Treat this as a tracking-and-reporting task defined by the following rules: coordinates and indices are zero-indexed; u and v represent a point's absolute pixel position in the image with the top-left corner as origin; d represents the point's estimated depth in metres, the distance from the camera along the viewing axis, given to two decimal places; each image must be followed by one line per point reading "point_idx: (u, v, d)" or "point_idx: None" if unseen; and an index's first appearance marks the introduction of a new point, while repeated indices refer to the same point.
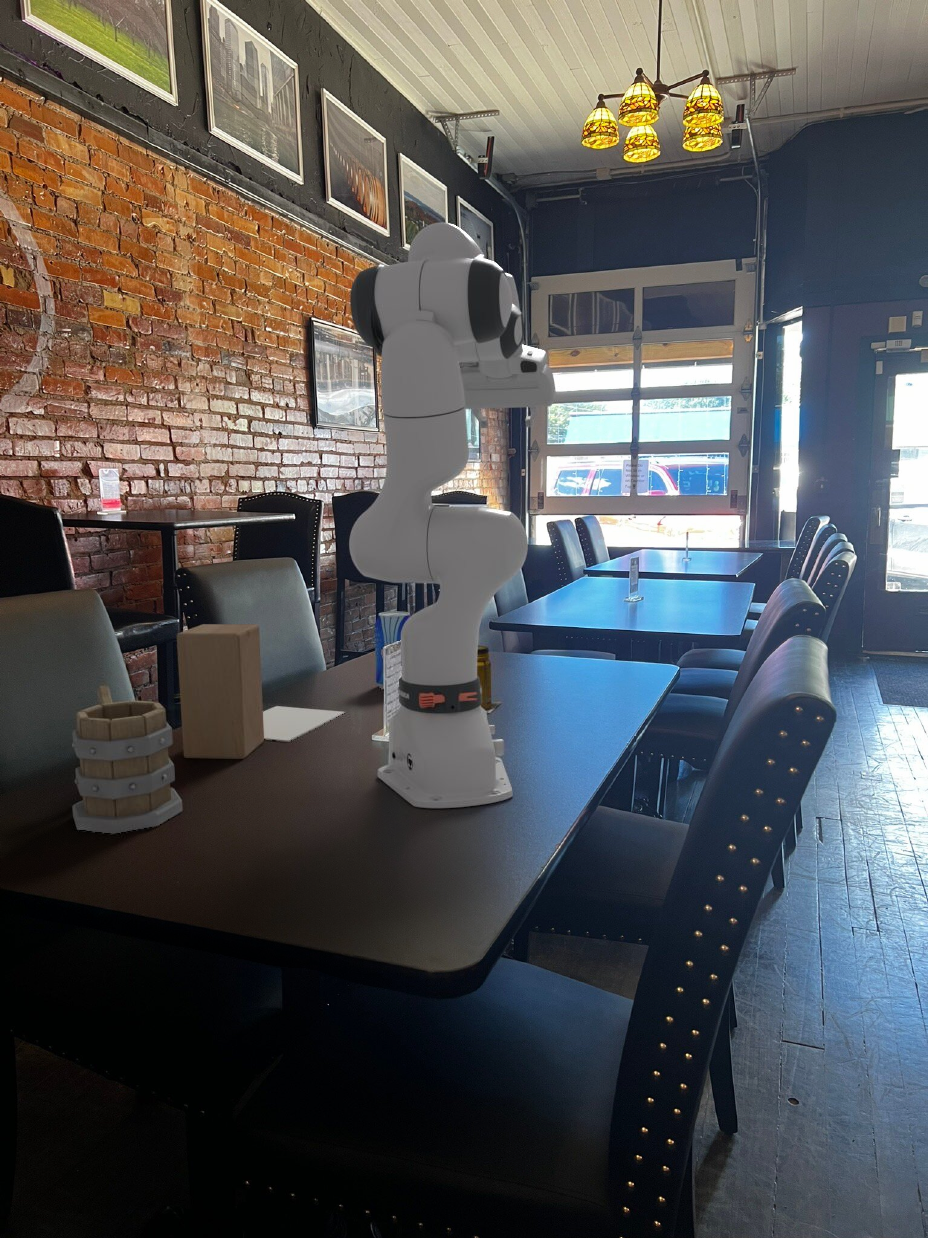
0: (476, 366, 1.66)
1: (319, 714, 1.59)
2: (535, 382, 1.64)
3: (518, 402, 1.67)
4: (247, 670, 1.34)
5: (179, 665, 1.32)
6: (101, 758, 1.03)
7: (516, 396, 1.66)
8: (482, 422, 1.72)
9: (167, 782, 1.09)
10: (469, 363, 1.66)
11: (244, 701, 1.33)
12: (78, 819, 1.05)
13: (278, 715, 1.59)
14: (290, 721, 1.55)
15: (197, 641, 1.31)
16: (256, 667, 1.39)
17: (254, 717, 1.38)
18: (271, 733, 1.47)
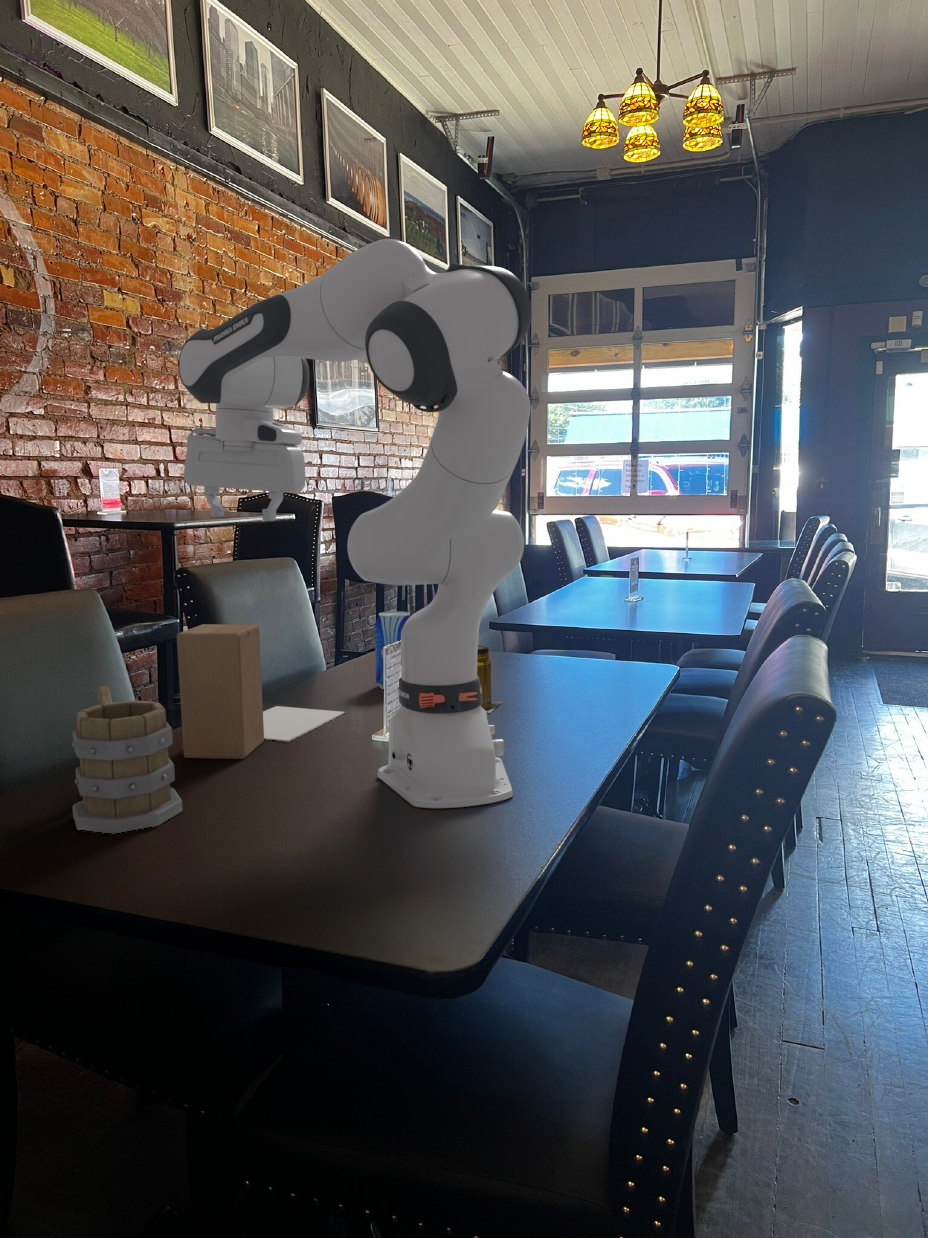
0: (216, 434, 1.36)
1: (319, 714, 1.59)
2: (276, 459, 1.32)
3: (254, 482, 1.33)
4: (247, 670, 1.34)
5: (179, 665, 1.32)
6: (101, 758, 1.03)
7: (253, 474, 1.33)
8: (214, 507, 1.37)
9: (167, 782, 1.09)
10: (209, 430, 1.36)
11: (244, 701, 1.33)
12: (78, 819, 1.05)
13: (278, 715, 1.59)
14: (290, 721, 1.55)
15: (197, 641, 1.31)
16: (256, 667, 1.39)
17: (254, 717, 1.38)
18: (271, 733, 1.47)
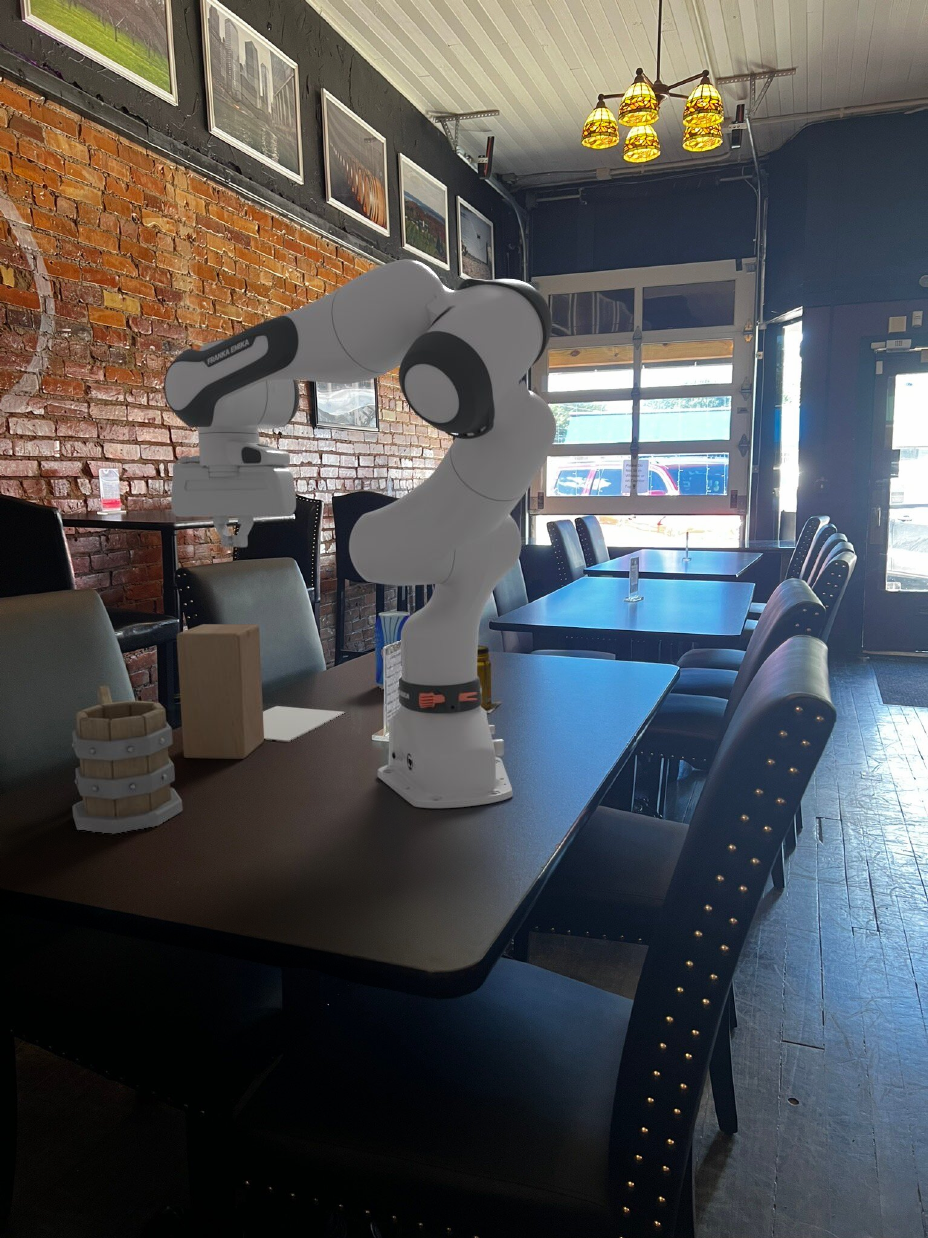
0: None
1: (319, 714, 1.59)
2: (263, 482, 1.25)
3: (243, 508, 1.26)
4: (247, 670, 1.34)
5: (179, 665, 1.32)
6: (101, 758, 1.04)
7: (241, 500, 1.26)
8: (224, 537, 1.29)
9: (167, 782, 1.09)
10: (194, 457, 1.30)
11: (244, 701, 1.33)
12: (78, 819, 1.05)
13: (278, 715, 1.59)
14: (290, 721, 1.55)
15: (197, 641, 1.31)
16: (256, 667, 1.39)
17: (254, 717, 1.38)
18: (271, 733, 1.47)
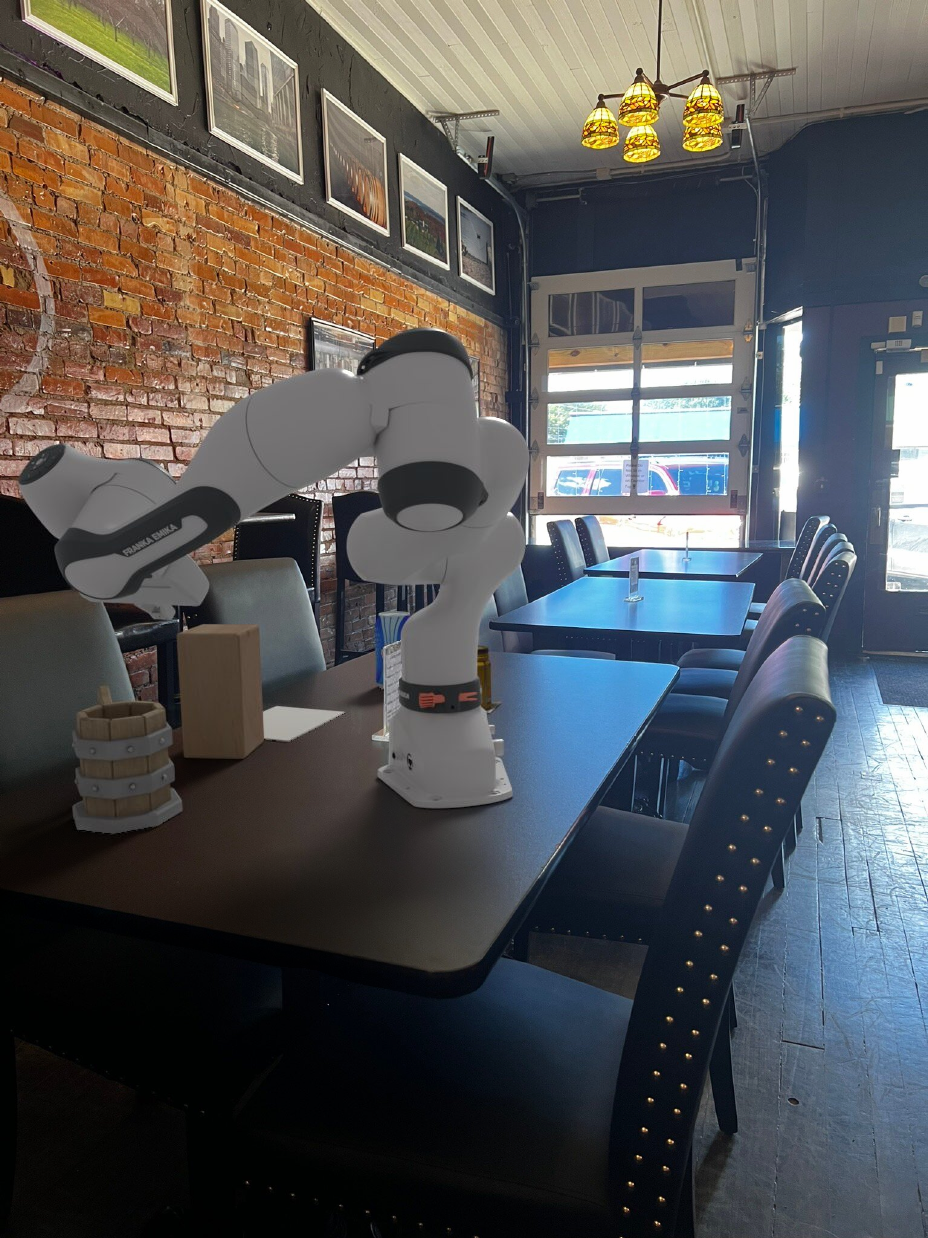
0: None
1: (319, 714, 1.59)
2: (165, 582, 1.13)
3: (156, 601, 1.17)
4: (247, 670, 1.34)
5: (179, 665, 1.32)
6: (101, 758, 1.03)
7: (150, 595, 1.16)
8: (153, 614, 1.22)
9: (167, 782, 1.09)
10: None
11: (244, 701, 1.33)
12: (78, 819, 1.05)
13: (278, 715, 1.59)
14: (290, 721, 1.55)
15: (197, 641, 1.31)
16: (256, 667, 1.39)
17: (254, 717, 1.38)
18: (271, 733, 1.47)
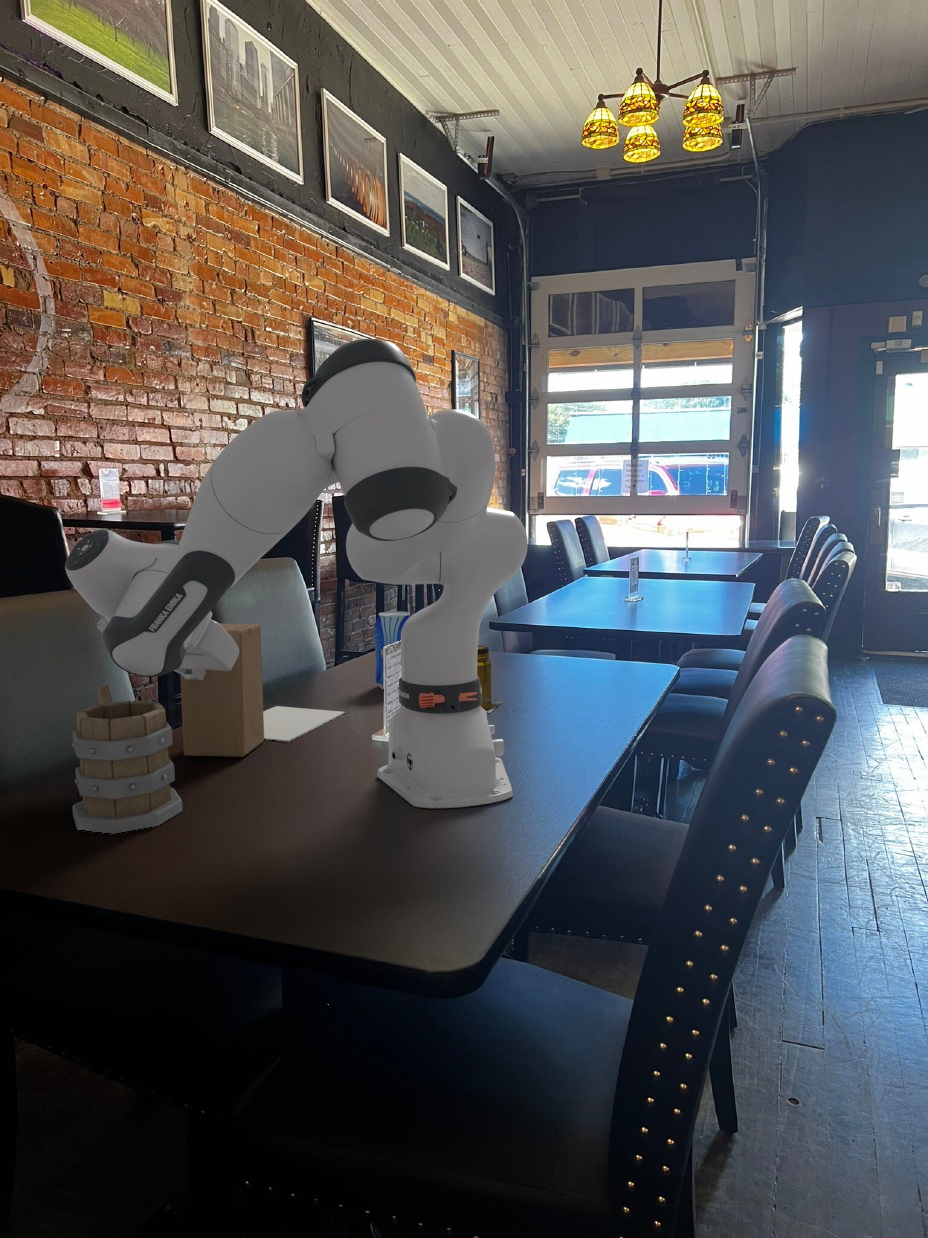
0: None
1: (319, 714, 1.59)
2: None
3: (189, 665, 1.25)
4: (248, 668, 1.35)
5: None
6: (101, 758, 1.03)
7: (184, 660, 1.24)
8: (185, 675, 1.30)
9: (167, 782, 1.09)
10: None
11: (244, 698, 1.33)
12: (78, 819, 1.05)
13: (278, 715, 1.59)
14: (290, 721, 1.55)
15: None
16: (257, 665, 1.39)
17: (254, 715, 1.38)
18: (271, 733, 1.47)
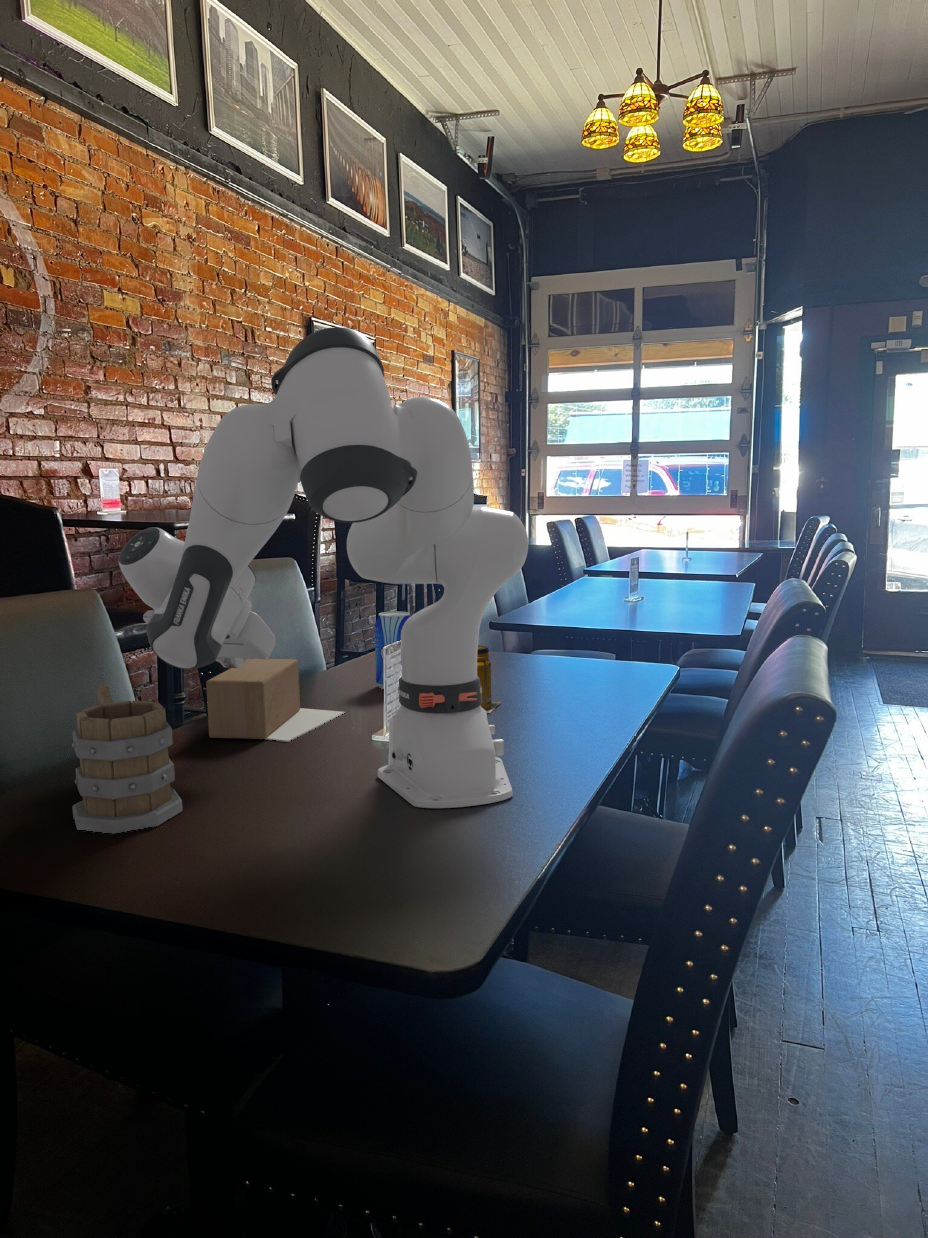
0: None
1: (319, 714, 1.59)
2: None
3: (229, 654, 1.34)
4: (288, 683, 1.55)
5: None
6: (101, 758, 1.04)
7: (224, 649, 1.33)
8: (224, 664, 1.39)
9: (167, 782, 1.09)
10: None
11: (280, 677, 1.51)
12: (78, 819, 1.05)
13: None
14: (290, 721, 1.55)
15: (263, 659, 1.61)
16: (289, 705, 1.56)
17: (274, 705, 1.48)
18: (271, 733, 1.47)
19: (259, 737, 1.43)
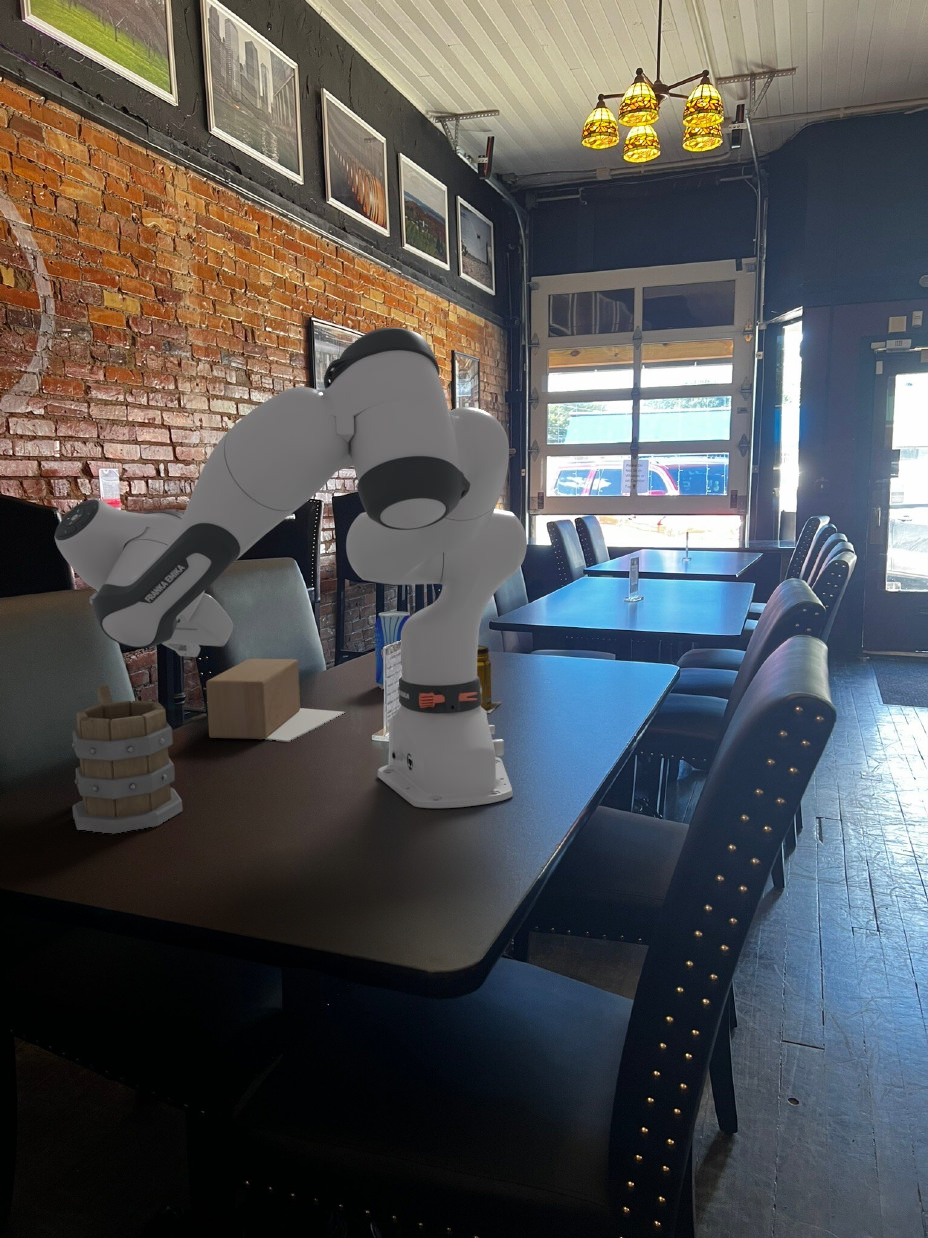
0: None
1: (319, 714, 1.59)
2: None
3: (183, 641, 1.23)
4: (288, 683, 1.55)
5: (240, 663, 1.57)
6: (101, 758, 1.04)
7: (177, 636, 1.22)
8: (179, 652, 1.28)
9: (167, 782, 1.09)
10: None
11: (280, 677, 1.51)
12: (78, 819, 1.05)
13: None
14: (290, 721, 1.55)
15: (263, 659, 1.61)
16: (289, 705, 1.56)
17: (274, 705, 1.48)
18: (271, 733, 1.47)
19: (259, 737, 1.43)
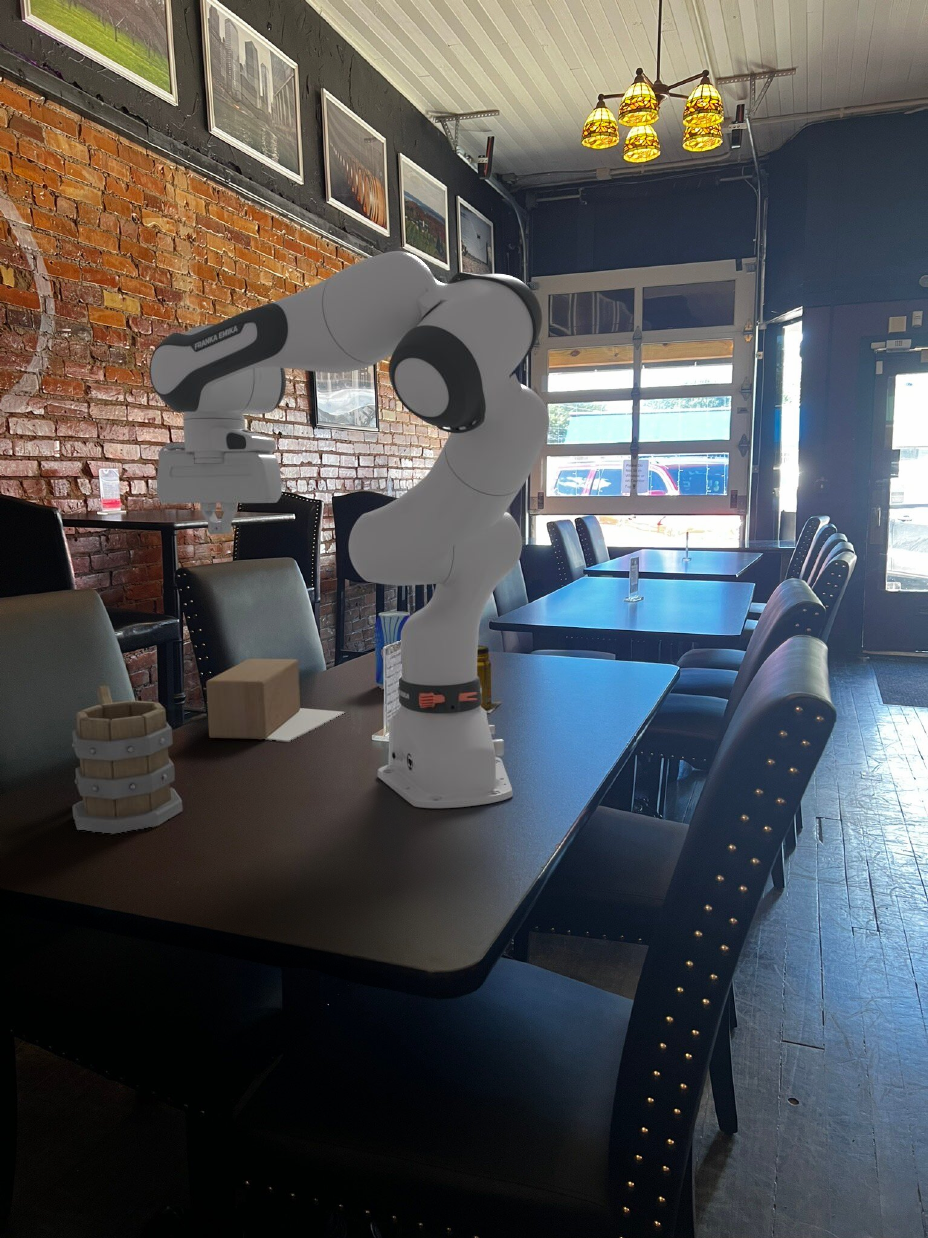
0: None
1: (319, 714, 1.59)
2: (248, 468, 1.24)
3: (228, 495, 1.25)
4: (288, 683, 1.55)
5: (240, 663, 1.57)
6: (101, 758, 1.03)
7: (226, 486, 1.25)
8: (211, 524, 1.28)
9: (167, 782, 1.09)
10: (179, 444, 1.29)
11: (280, 677, 1.51)
12: (78, 819, 1.05)
13: None
14: (290, 721, 1.55)
15: (263, 659, 1.61)
16: (289, 705, 1.56)
17: (274, 705, 1.48)
18: (271, 733, 1.47)
19: (259, 737, 1.43)
